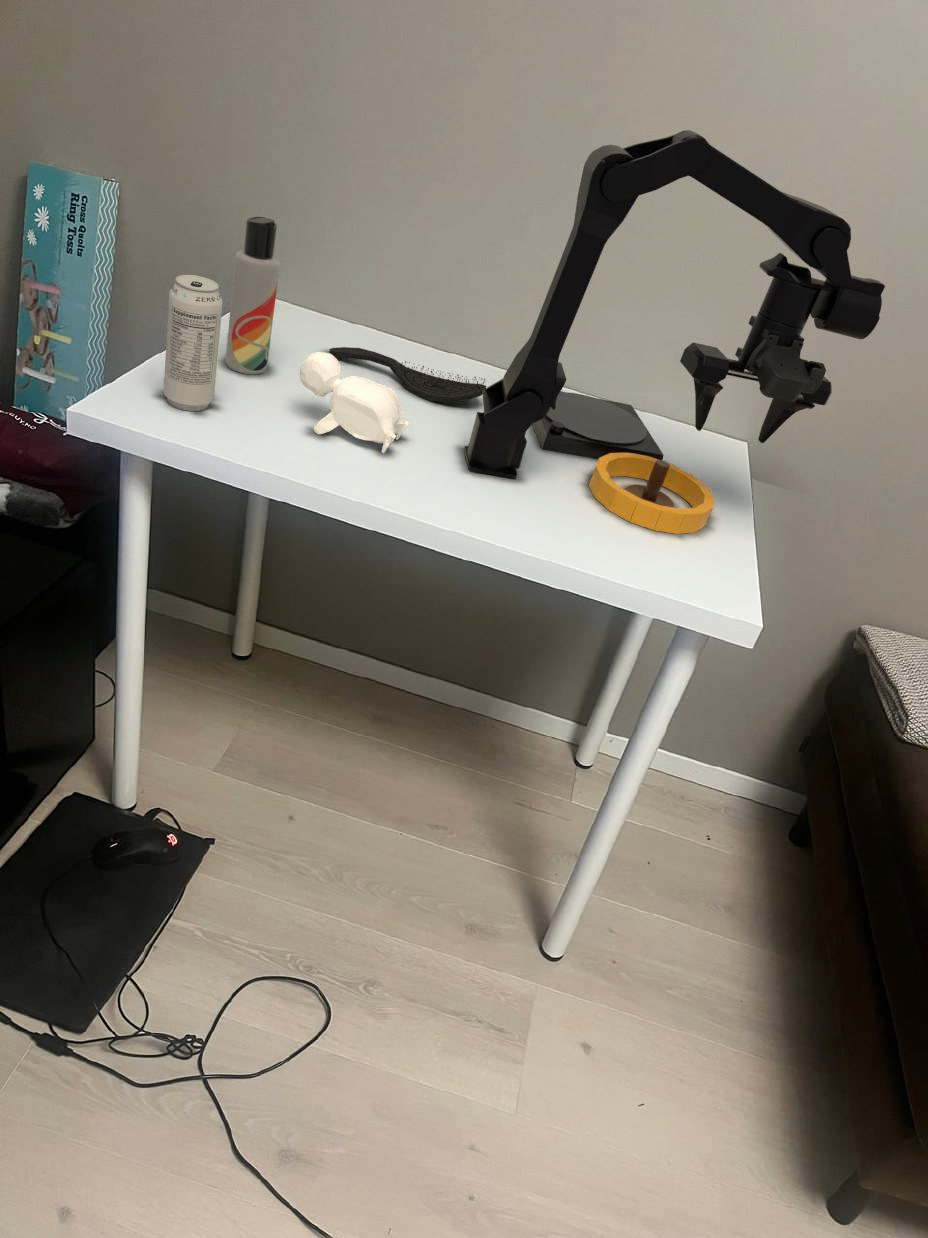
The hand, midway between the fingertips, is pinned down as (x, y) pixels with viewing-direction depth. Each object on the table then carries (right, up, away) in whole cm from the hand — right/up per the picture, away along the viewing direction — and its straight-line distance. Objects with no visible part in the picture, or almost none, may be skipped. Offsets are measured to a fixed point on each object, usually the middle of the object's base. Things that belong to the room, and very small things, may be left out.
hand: (729, 435), depth 119 cm
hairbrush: (-44, +12, +19) cm, 49 cm away
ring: (-10, -8, +4) cm, 13 cm away
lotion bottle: (-65, +11, +8) cm, 67 cm away
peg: (-10, -8, +4) cm, 13 cm away
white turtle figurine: (-50, 0, 0) cm, 50 cm away
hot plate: (-16, +4, +19) cm, 26 cm away
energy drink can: (-69, +3, -5) cm, 70 cm away
